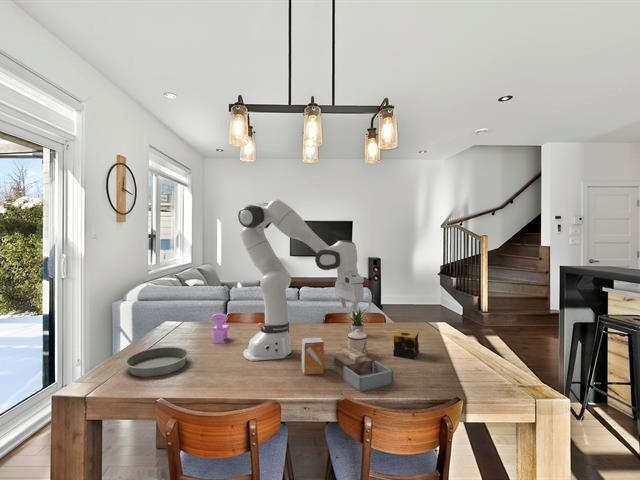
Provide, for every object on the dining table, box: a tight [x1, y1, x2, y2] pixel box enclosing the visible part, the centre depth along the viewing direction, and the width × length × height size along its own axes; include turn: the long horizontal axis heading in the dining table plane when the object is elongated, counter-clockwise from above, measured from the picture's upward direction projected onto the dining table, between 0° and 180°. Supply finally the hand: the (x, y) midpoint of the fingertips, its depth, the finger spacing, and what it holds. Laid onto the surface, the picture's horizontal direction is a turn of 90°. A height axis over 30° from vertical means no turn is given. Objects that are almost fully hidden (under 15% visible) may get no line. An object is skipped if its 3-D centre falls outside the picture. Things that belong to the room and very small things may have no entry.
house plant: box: [348, 307, 371, 333], centre depth 189 cm, size 14×14×16 cm
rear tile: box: [342, 348, 358, 359], centre depth 142 cm, size 4×4×2 cm
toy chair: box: [211, 313, 229, 344], centre depth 179 cm, size 8×9×15 cm
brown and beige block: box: [333, 354, 374, 377], centre depth 140 cm, size 12×10×6 cm
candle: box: [392, 329, 420, 360], centre depth 160 cm, size 10×10×10 cm
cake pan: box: [124, 346, 190, 378], centre depth 145 cm, size 25×25×4 cm
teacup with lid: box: [347, 329, 368, 357], centre depth 161 cm, size 12×9×12 cm
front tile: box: [349, 352, 364, 363], centre depth 138 cm, size 4×4×2 cm
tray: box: [343, 360, 395, 393], centre depth 130 cm, size 15×12×5 cm
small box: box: [301, 336, 325, 376], centre depth 140 cm, size 8×6×13 cm
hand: (348, 309), depth 148 cm, fingers open, 8 cm apart
